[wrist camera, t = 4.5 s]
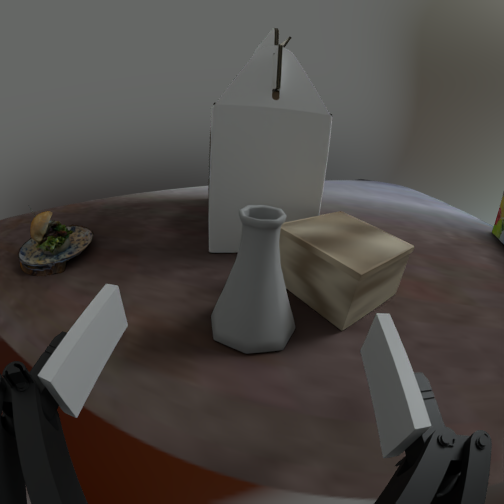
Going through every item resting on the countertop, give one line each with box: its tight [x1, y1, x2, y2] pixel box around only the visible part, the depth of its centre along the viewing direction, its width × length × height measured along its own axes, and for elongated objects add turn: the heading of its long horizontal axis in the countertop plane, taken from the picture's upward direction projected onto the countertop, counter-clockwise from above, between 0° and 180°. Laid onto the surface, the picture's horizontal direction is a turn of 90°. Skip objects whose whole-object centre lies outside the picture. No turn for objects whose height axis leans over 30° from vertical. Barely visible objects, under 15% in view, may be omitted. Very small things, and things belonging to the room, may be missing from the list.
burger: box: [18, 211, 94, 276], centre depth 30 cm, size 12×12×8 cm
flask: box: [211, 205, 295, 354], centre depth 21 cm, size 7×7×10 cm
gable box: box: [208, 28, 332, 253], centre depth 38 cm, size 22×13×28 cm, turn 8°
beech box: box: [279, 211, 414, 331], centre depth 28 cm, size 10×10×6 cm
